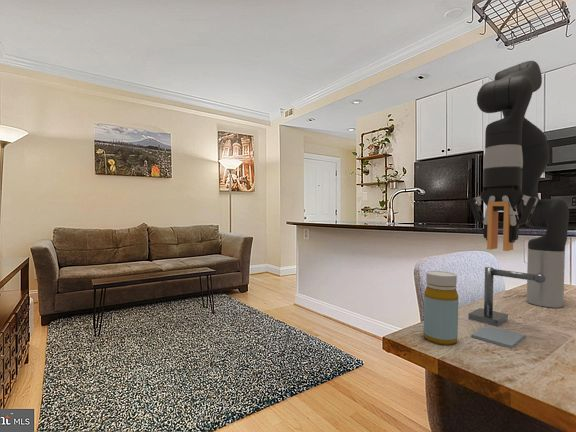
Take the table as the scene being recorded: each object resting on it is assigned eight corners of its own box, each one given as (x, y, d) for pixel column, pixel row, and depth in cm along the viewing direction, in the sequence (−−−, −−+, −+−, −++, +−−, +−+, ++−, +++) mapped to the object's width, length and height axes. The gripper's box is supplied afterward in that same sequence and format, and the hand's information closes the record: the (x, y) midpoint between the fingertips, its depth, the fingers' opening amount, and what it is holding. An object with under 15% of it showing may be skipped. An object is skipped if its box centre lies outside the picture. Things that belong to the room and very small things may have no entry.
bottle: (454, 335, 76) (456, 271, 76) (459, 347, 69) (461, 277, 69) (422, 331, 78) (423, 269, 78) (424, 343, 72) (425, 275, 71)
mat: (486, 327, 82) (487, 324, 82) (525, 337, 76) (525, 334, 76) (471, 337, 75) (471, 334, 75) (511, 348, 69) (511, 345, 69)
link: (486, 249, 75) (488, 201, 75) (493, 248, 78) (494, 202, 78) (506, 251, 72) (508, 201, 72) (513, 249, 75) (514, 202, 75)
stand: (479, 313, 93) (480, 263, 93) (548, 328, 81) (550, 272, 81) (468, 319, 88) (469, 266, 88) (540, 336, 76) (541, 276, 76)
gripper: (462, 168, 78) (461, 240, 78) (535, 162, 67) (533, 245, 67) (475, 171, 83) (473, 238, 83) (544, 165, 72) (542, 243, 72)
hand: (500, 241), depth 75 cm, fingers closed on link, 4 cm apart
